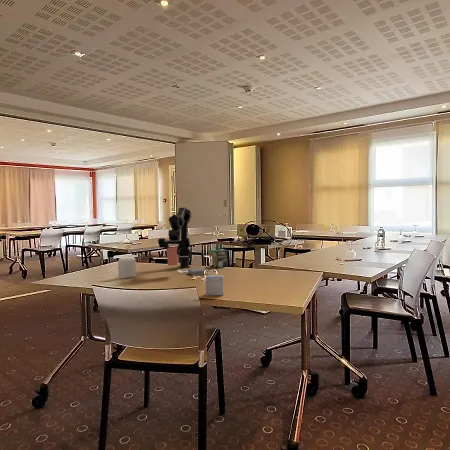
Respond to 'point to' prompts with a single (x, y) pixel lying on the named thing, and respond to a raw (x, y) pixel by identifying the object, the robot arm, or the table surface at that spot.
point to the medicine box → (214, 285)
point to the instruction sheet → (182, 271)
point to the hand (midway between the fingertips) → (172, 253)
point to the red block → (172, 256)
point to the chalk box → (219, 257)
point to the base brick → (196, 271)
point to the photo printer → (127, 267)
